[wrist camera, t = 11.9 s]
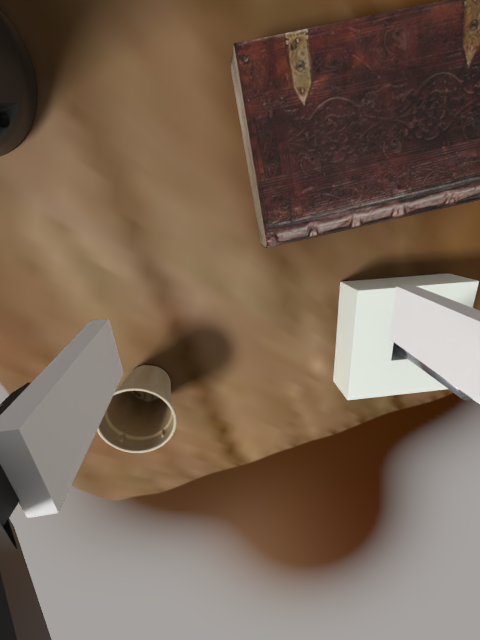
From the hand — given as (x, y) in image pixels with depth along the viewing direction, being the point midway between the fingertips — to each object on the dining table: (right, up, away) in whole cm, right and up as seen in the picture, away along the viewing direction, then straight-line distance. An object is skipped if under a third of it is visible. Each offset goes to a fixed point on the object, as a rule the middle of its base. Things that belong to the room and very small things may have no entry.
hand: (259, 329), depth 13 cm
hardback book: (+14, +22, +22) cm, 34 cm away
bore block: (+21, -1, +30) cm, 37 cm away
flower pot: (-14, -9, +29) cm, 34 cm away
